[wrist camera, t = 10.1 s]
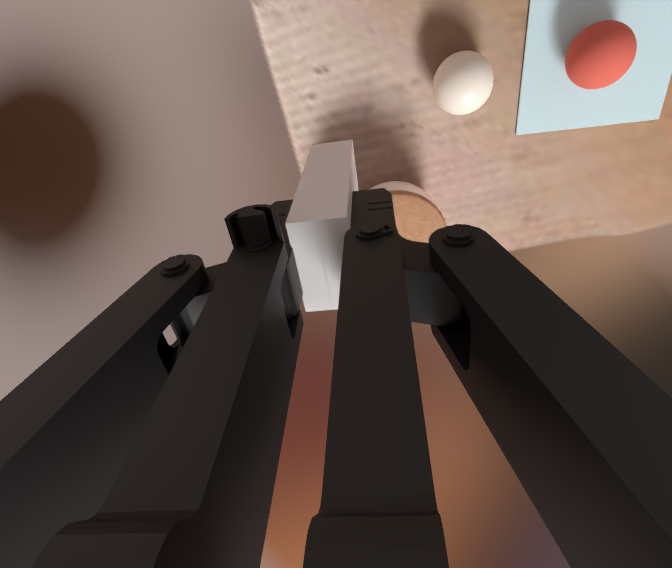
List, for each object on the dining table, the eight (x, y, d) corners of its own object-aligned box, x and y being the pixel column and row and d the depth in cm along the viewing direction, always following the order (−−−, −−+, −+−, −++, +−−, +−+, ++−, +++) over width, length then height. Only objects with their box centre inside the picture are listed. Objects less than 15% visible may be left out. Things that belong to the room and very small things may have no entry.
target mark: (515, 134, 45) (516, 135, 45) (532, -28, 37) (533, -28, 37) (657, 118, 43) (658, 119, 43) (706, -55, 35) (708, -55, 35)
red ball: (639, 28, 33) (656, 19, 36) (567, 20, 36) (589, 12, 39) (609, 101, 37) (628, 87, 40) (547, 88, 40) (568, 76, 43)
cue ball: (503, 67, 36) (503, 51, 40) (440, 52, 36) (446, 38, 40) (479, 129, 39) (481, 110, 43) (422, 114, 40) (429, 96, 44)
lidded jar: (378, 264, 55) (381, 307, 47) (329, 200, 50) (323, 238, 43) (453, 221, 51) (469, 261, 43) (407, 148, 46) (416, 178, 39)
